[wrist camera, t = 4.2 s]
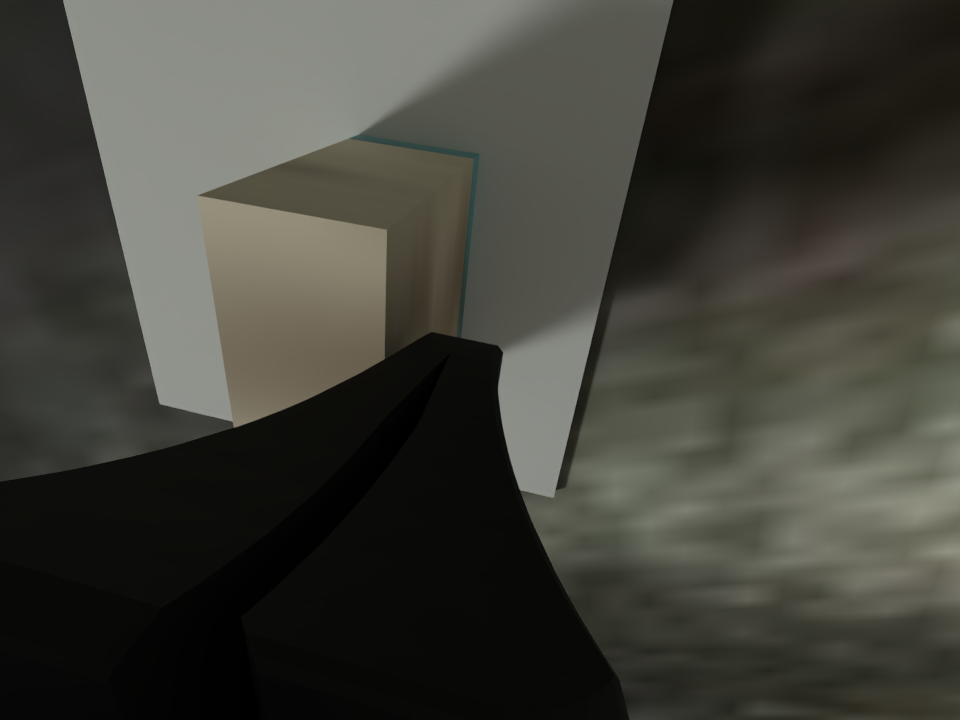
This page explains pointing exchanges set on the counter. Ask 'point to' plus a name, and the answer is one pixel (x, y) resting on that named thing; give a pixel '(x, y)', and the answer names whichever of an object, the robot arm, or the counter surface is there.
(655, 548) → the counter surface
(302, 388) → the maple block
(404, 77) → the grey rubber mat
